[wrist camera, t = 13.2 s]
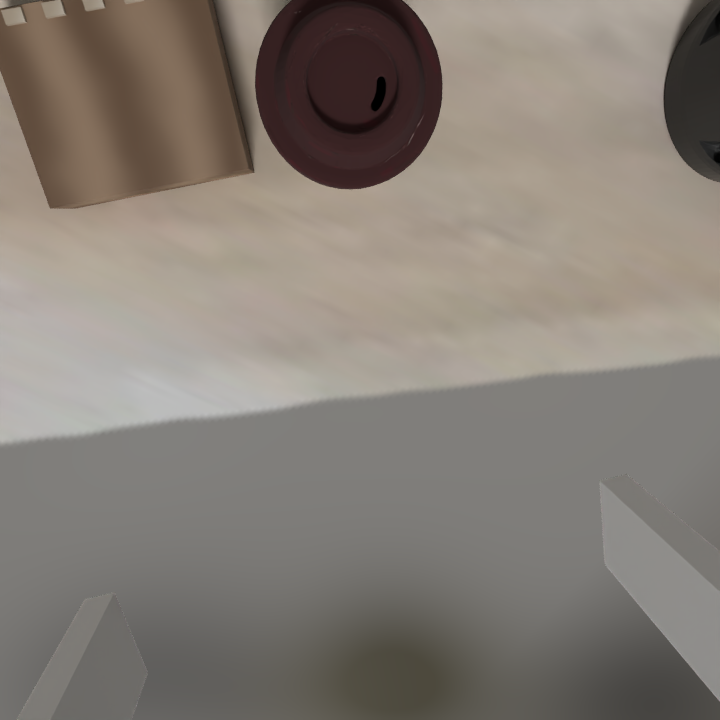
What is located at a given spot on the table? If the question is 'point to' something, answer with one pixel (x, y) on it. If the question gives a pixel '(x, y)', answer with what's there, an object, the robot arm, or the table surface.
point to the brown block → (121, 96)
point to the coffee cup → (348, 89)
